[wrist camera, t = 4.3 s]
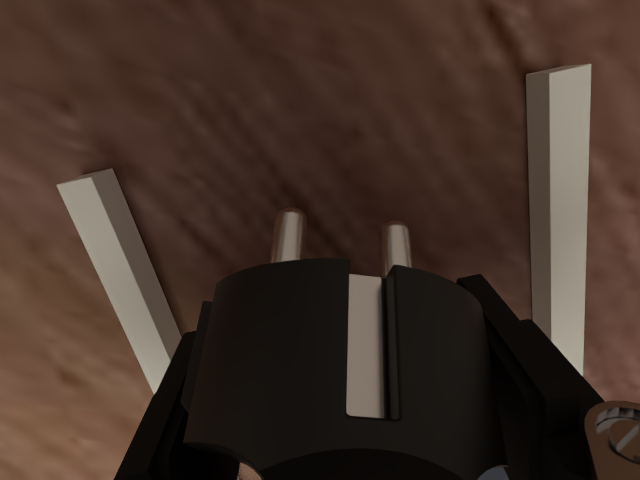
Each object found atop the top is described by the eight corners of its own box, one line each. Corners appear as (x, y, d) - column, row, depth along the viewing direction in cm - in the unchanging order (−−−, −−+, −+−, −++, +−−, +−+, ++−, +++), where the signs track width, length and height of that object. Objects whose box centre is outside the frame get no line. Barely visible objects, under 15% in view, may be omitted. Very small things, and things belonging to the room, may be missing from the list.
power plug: (206, 542, 14) (45, 734, 3) (242, 326, 17) (218, 110, 7) (370, 551, 14) (670, 745, 4) (369, 339, 18) (514, 152, 8)
